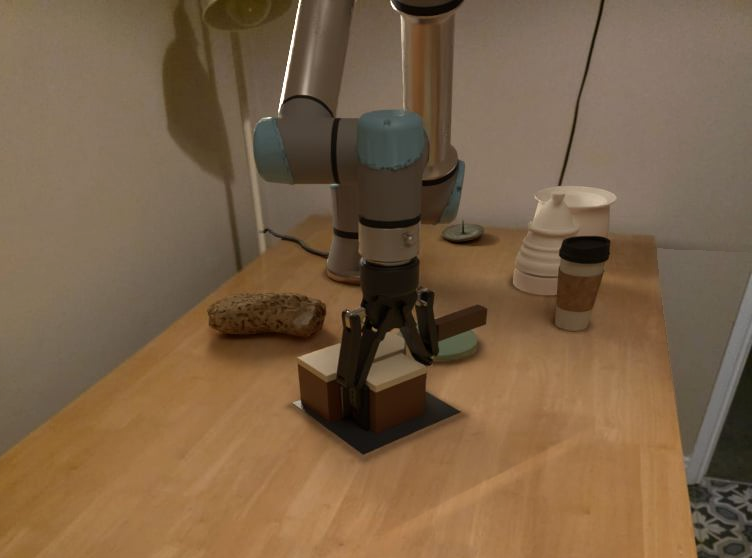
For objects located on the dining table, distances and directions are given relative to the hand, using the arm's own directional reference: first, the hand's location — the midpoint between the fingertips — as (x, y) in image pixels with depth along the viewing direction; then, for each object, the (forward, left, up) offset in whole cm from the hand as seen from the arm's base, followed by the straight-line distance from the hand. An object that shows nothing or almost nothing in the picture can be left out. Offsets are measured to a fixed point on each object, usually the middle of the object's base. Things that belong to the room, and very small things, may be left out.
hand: (389, 414), depth 97 cm
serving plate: (-14, +22, -1) cm, 26 cm away
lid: (-55, +67, -1) cm, 87 cm away
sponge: (-38, +2, -1) cm, 38 cm away
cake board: (-3, 0, -1) cm, 3 cm away
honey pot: (-22, +59, -1) cm, 63 cm away
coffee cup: (-5, +47, -1) cm, 47 cm away
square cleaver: (-3, +8, 0) cm, 8 cm away
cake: (-7, 0, 0) cm, 7 cm away
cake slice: (0, 0, 0) cm, 0 cm away
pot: (-32, +78, -1) cm, 84 cm away
